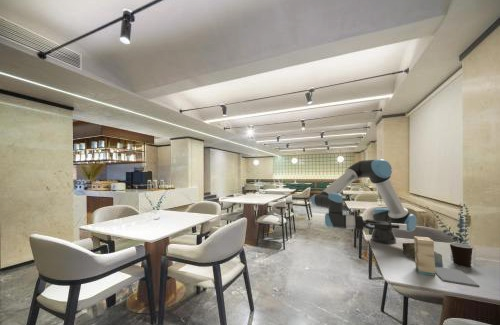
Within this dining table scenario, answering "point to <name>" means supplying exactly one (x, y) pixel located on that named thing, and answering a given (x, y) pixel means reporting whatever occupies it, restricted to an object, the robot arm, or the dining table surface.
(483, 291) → the dining table surface
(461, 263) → the coffee mug
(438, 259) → the beverage carton
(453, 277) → the rubber mat
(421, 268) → the oak block
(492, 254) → the dining table surface
